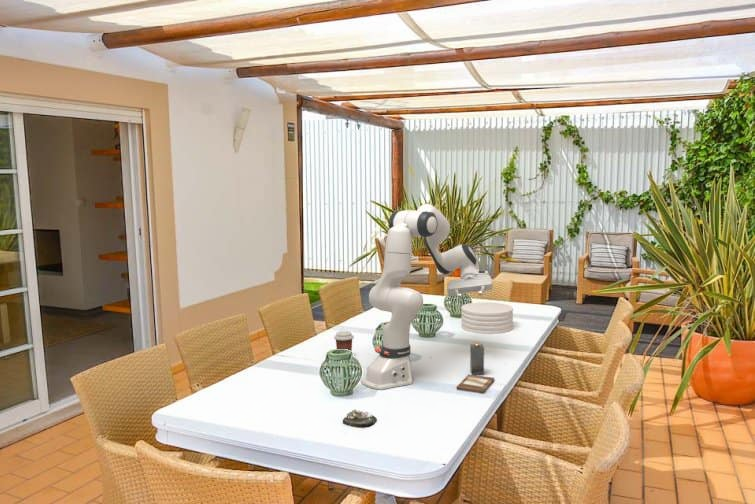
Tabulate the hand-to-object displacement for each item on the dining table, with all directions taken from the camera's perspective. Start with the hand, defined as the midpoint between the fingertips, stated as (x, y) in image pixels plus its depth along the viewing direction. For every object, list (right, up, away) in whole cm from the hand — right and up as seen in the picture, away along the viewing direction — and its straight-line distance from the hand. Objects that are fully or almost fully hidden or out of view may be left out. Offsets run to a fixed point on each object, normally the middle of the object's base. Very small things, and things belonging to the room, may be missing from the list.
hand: (470, 295), depth 261 cm
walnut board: (-1, -34, -22) cm, 41 cm away
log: (-47, -40, -56) cm, 83 cm away
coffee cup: (-56, -31, +17) cm, 66 cm away
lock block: (+2, -33, -8) cm, 34 cm away
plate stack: (+20, -23, +69) cm, 75 cm away
